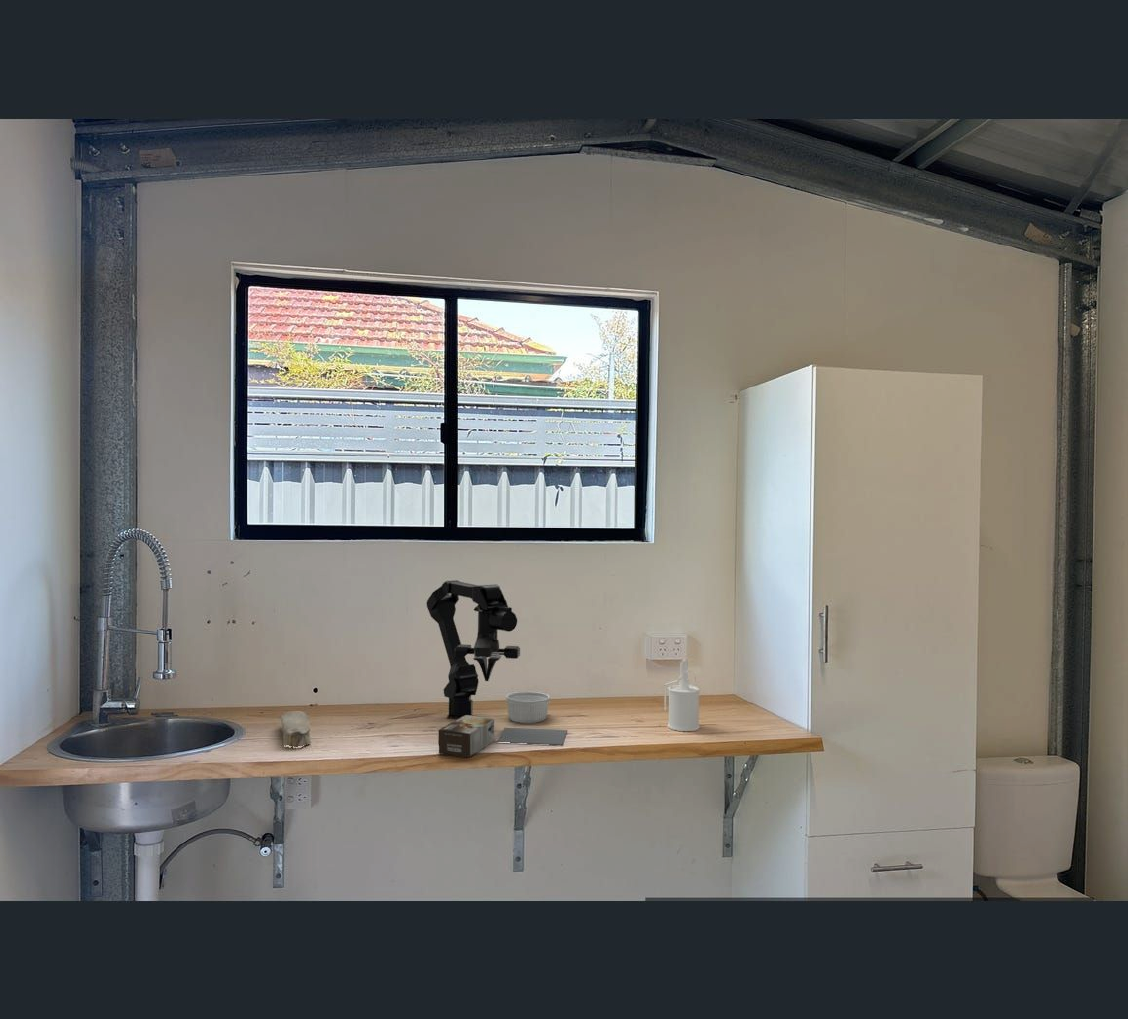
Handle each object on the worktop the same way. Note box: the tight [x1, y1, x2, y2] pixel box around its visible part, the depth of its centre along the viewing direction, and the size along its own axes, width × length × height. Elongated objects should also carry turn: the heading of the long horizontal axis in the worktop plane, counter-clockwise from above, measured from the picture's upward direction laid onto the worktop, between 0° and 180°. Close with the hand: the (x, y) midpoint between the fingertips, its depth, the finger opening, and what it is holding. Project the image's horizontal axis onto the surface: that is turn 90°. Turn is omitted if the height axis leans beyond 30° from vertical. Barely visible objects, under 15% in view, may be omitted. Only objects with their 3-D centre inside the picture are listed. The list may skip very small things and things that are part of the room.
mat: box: [495, 727, 568, 746], centre depth 216 cm, size 18×14×1 cm
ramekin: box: [505, 691, 551, 724], centre depth 235 cm, size 13×13×7 cm
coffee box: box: [437, 715, 496, 759], centre depth 206 cm, size 9×6×16 cm
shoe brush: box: [280, 710, 312, 747], centre depth 214 cm, size 24×8×5 cm, turn 22°
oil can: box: [663, 658, 701, 733], centre depth 228 cm, size 10×9×20 cm
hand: (487, 680), depth 228 cm, fingers closed
